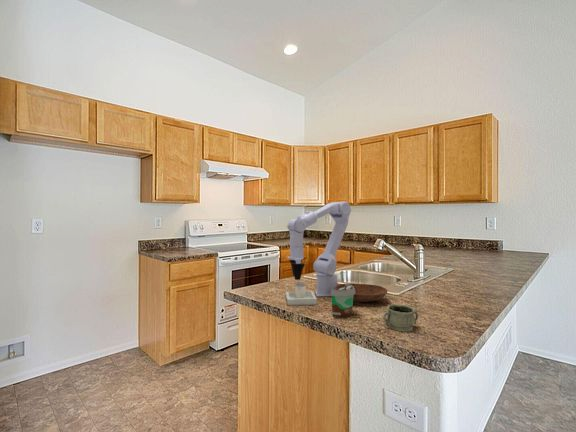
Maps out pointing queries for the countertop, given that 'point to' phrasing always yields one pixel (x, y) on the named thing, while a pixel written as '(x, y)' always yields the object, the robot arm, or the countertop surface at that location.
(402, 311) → the vessel
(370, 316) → the countertop surface
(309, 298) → the tray
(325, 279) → the robot arm
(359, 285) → the bowl
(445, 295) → the countertop surface
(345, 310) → the food container
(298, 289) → the shaker
